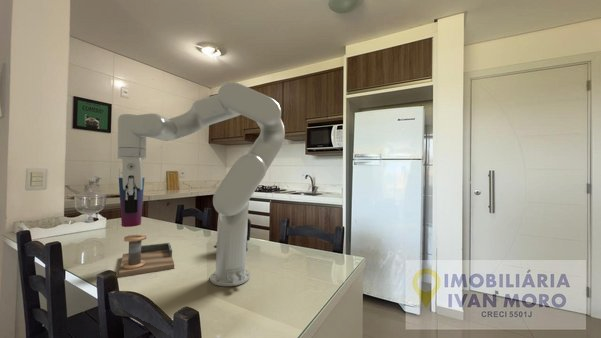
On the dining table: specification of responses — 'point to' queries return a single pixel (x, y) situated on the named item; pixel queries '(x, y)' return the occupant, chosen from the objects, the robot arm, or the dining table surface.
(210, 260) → the dining table surface
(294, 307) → the dining table surface
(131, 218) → the cup
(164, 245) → the board
